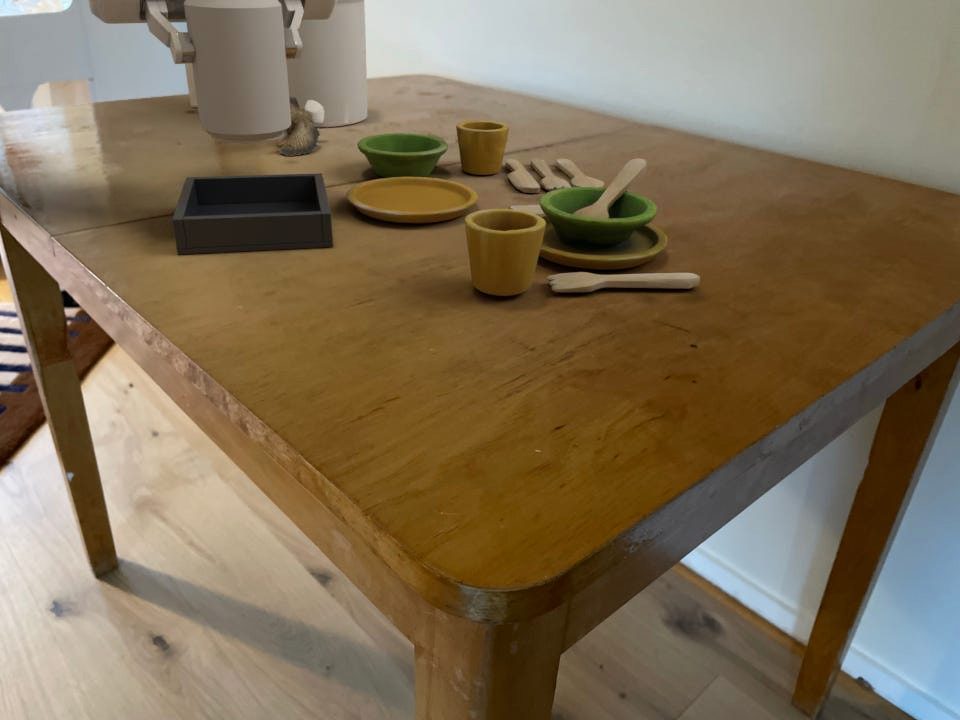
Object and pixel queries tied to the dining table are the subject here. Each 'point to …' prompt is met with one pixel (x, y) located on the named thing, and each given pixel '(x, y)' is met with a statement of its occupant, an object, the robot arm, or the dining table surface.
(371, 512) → the dining table surface
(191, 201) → the dark grey tray
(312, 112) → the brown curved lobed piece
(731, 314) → the dining table surface
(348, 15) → the utensil holder
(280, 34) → the can
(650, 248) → the tableware set
